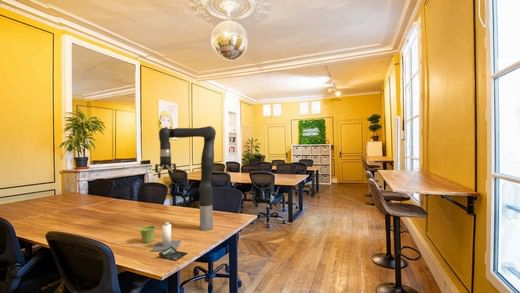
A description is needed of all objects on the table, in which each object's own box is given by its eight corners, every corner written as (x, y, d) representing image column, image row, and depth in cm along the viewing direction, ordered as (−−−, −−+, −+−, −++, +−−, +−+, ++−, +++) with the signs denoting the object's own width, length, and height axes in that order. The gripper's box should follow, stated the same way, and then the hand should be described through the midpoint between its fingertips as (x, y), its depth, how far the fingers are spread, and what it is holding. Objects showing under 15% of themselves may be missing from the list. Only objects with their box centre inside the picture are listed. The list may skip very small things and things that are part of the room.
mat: (180, 241, 154) (180, 240, 154) (176, 250, 140) (176, 249, 140) (158, 242, 152) (157, 241, 152) (150, 251, 138) (150, 250, 138)
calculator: (176, 261, 126) (175, 255, 126) (158, 258, 130) (158, 252, 130) (187, 254, 135) (187, 248, 135) (171, 251, 139) (171, 246, 139)
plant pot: (141, 245, 148) (141, 231, 148) (138, 241, 155) (138, 227, 155) (157, 242, 153) (157, 228, 153) (154, 237, 161) (153, 224, 161)
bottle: (171, 243, 149) (172, 221, 149) (169, 246, 144) (169, 223, 144) (163, 243, 148) (163, 221, 148) (161, 246, 143) (161, 223, 143)
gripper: (153, 156, 170) (154, 179, 170) (174, 155, 172) (175, 178, 171) (156, 155, 177) (157, 177, 177) (176, 155, 179) (177, 177, 179)
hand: (165, 178), depth 174 cm, fingers open, 8 cm apart
